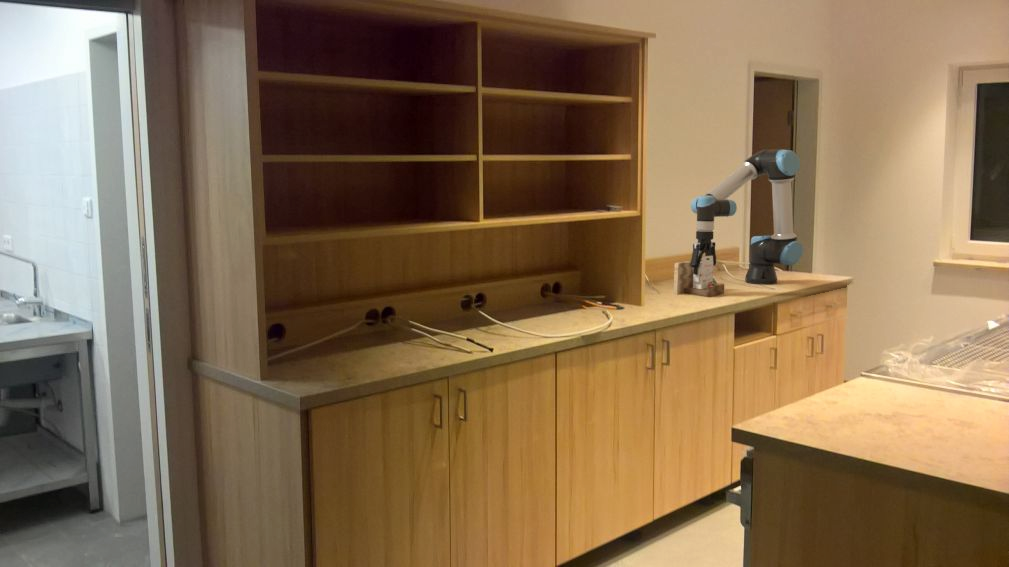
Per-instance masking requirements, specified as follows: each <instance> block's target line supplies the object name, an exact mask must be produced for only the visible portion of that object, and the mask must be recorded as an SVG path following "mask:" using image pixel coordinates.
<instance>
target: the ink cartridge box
mask: <svg viewBox="0 0 1009 567" xmlns="http://www.w3.org/2000/svg"><path fill="white" fill-rule="evenodd" d="M707 258H709V260H706V259H707ZM701 259H702V262H700V265H699V267H700V281H699V282H694V281H693V288H696V289H707V287H709V286H712V284H713V283H712V281H713V279H714V265H713V261H714V260H713V255H712V256H706V255H703V256H702V258H701ZM693 272H694V270H693ZM693 279H694V274H693Z"/></svg>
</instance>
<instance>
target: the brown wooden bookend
mask: <svg viewBox="0 0 1009 567" xmlns="http://www.w3.org/2000/svg"><path fill="white" fill-rule="evenodd" d="M706 260H707V259H706ZM700 262H702V258H701V261H700ZM690 264H691V260H688V261H680V262H674V271H673V272H674V273H673V295H681V294H682V295H683V294H686V295H691V296H692V295H693V296H699V297H705V298H712V297H718V296H722V295H723V296H724V295H725V284H724V283H721V284H717V285H715V286H709V287H707V289H696V288H693V270H694V267H692V266H691V265H690Z"/></svg>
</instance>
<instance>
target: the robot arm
mask: <svg viewBox="0 0 1009 567" xmlns="http://www.w3.org/2000/svg"><path fill="white" fill-rule="evenodd" d="M800 162H801V161H800V158H799V156H798V155H797V153H795V151H793V150H790V149H763V150H760V151H758V152H756V153H754V154H752V155H751V156H749V157H748V158H747V159H746V160H744V161H742V162H741V164H740V167H739V168H738V169H736V170H735V171H734V172H733V173H731V174H730V175H729V176H727V177H726V178H725V179H723V181H721V182H720V183H719V184H717V185H716V186H715V187H714V188H712V189H711V190H709V191H708V193H707V192H706V194H705V195H699V196H698V197H695V198H694V199H692V200H691V202H690V209H691V211H692V212H693V213H694V214H696V231H695V239H696V240H697V243H693V244H692V254H691V259H690V261H691V264H690V265H691V266H692V267H694V272H693V274H694V279H693V281H694V282H699V281H700V267H699V265H700V261H701V259H702V257H703V256H712V255H713V267H714V266H716V264H717V257H716V256H717V255H716V242H715V241H714V242H713V241H712V240H713V239H714V233H715V232H714V229H715V217H717V218H718V217H720V218H721V217H722V218H723V217H727V218H728V217H732V216H734V215H736V213H737V209H738V208H737V203H736V202H735V200H733V199H728V198H730V196H732V195H733V194H734V193H736V192H737V191H738V190H739V189H741V188H742V187H743V186H744V185H745V184H747V183H748V182H749V181H751V180H755V179H757V178H758V177H760V176H763V175H767V178H768V181H769V182H770V183H771V190H772V191H771V192H772V194H771V195H772V212H773V213H772V214H773V234H772V235H771V234H770V235H755V236H752V237H751V239H750V244H749V245H750V249H749V252H750V253H749V266H748V269H747V271H746V275H745V279H744V280H745V281H744V282H745V283H748V284H753V285H754V284H755V285H775V284H778V276H777V272H776V268H775V264H778V265H783V266H793V265H795V264H797V263H798V262H799V261H800V259H801V257H802V256H803V252H804V250H803V248H804V247H803V244H802V243H801V242H799V241H798V236H797V234H795V233H794V222H793V220H794V219H793V216H794V214H793V193H792V192H793V190H792V182H793V181H794V179H795V175H796V174H797V173H798V171H799V169H800V166H801V165H800ZM707 260H709V258H707Z"/></svg>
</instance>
